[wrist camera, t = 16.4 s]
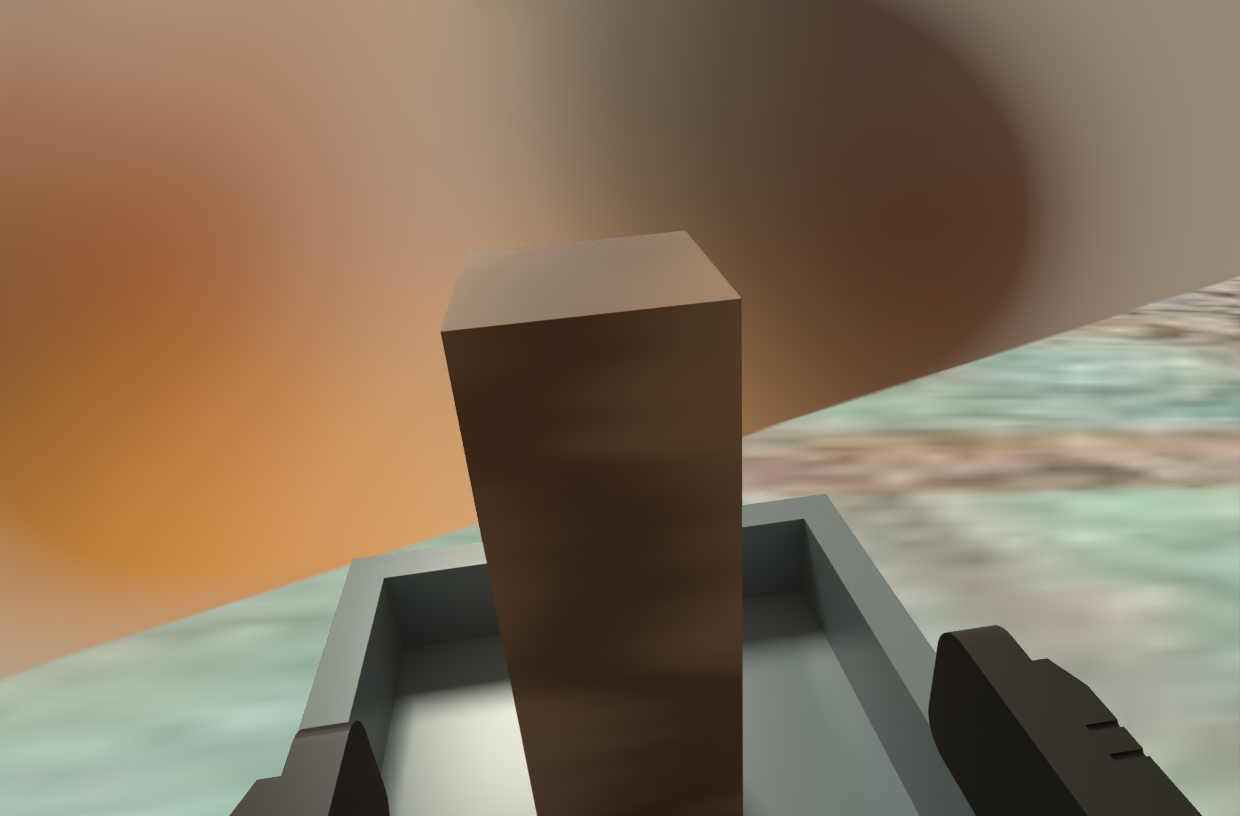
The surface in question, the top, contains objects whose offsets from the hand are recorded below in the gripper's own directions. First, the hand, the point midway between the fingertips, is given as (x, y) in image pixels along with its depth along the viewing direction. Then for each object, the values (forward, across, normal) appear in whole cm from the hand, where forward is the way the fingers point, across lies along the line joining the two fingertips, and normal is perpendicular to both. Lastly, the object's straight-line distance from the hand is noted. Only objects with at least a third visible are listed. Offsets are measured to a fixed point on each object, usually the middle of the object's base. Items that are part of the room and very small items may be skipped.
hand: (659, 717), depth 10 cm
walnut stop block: (+5, 0, +9) cm, 10 cm away
